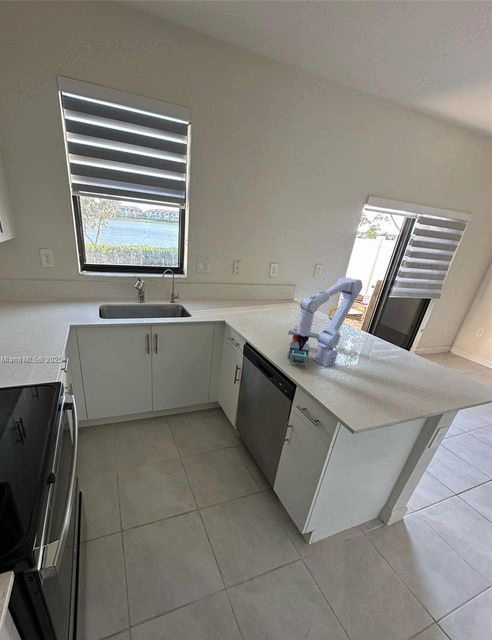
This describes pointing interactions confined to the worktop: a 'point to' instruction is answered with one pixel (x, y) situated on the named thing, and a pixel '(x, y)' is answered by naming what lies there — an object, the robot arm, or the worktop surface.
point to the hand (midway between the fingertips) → (300, 349)
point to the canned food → (295, 335)
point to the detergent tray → (298, 357)
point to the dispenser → (296, 346)
